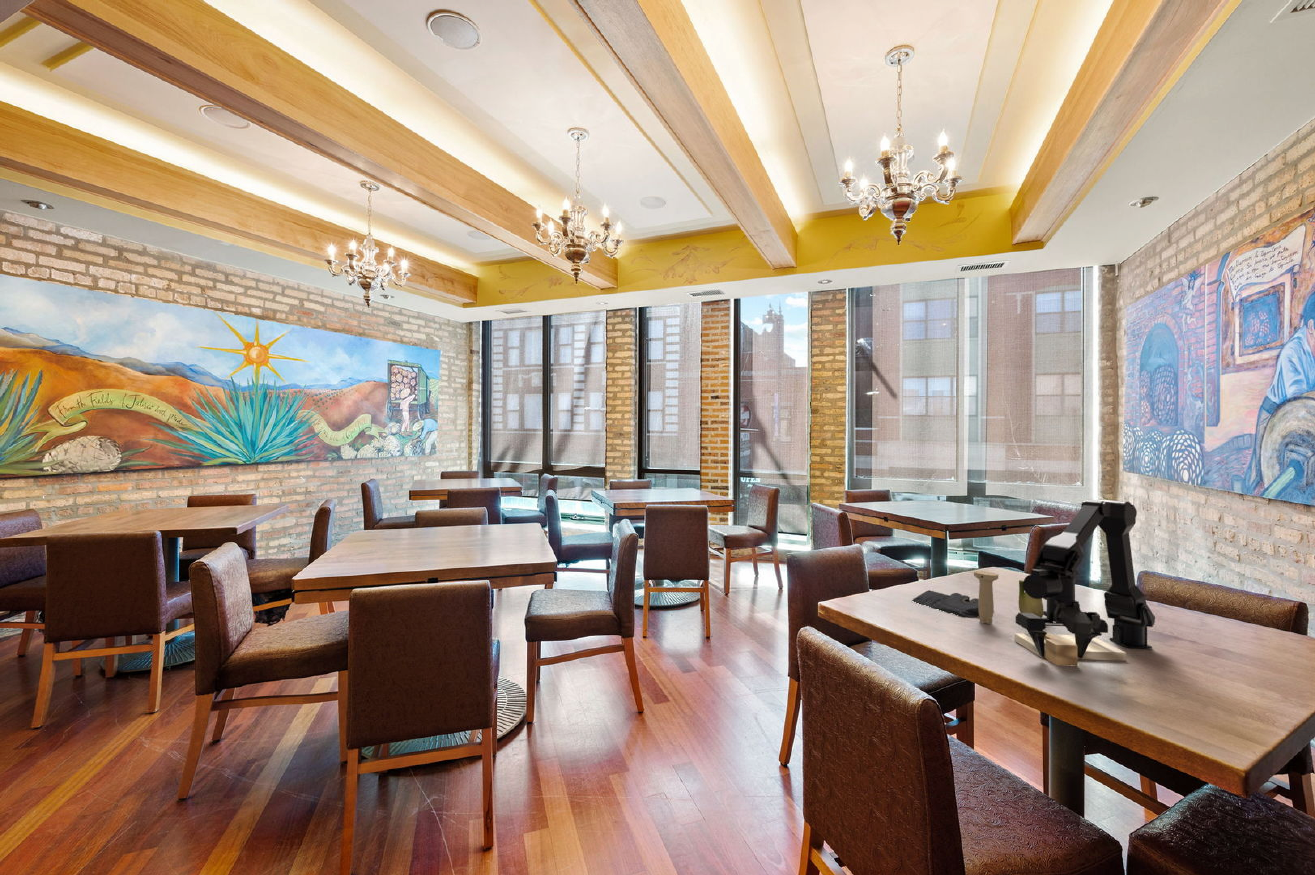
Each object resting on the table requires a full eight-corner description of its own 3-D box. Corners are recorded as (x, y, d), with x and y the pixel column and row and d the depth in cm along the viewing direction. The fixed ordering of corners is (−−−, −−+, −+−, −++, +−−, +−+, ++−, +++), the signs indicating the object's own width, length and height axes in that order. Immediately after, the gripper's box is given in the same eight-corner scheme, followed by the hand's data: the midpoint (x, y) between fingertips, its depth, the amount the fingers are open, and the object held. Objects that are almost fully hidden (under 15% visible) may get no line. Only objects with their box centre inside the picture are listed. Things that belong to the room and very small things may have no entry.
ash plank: (1091, 643, 148) (1091, 635, 148) (1125, 660, 136) (1125, 652, 136) (1014, 640, 150) (1014, 633, 150) (1041, 657, 138) (1041, 649, 138)
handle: (993, 627, 160) (993, 576, 161) (970, 621, 166) (970, 572, 166) (1001, 624, 163) (1001, 574, 163) (978, 618, 168) (978, 570, 169)
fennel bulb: (1016, 617, 170) (1016, 579, 170) (1026, 615, 172) (1025, 577, 172) (1037, 623, 165) (1036, 583, 165) (1046, 620, 167) (1045, 581, 167)
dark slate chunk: (935, 596, 194) (935, 583, 194) (999, 614, 175) (999, 599, 175) (907, 602, 187) (907, 589, 187) (970, 621, 167) (970, 606, 167)
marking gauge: (1048, 649, 144) (1048, 630, 144) (1077, 666, 133) (1077, 645, 133) (1028, 648, 144) (1028, 629, 144) (1055, 665, 133) (1055, 644, 133)
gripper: (1041, 602, 128) (1041, 669, 128) (1125, 604, 126) (1126, 672, 126) (1014, 589, 139) (1014, 651, 139) (1091, 591, 137) (1091, 653, 137)
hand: (1060, 657), depth 135 cm, fingers open, 9 cm apart
